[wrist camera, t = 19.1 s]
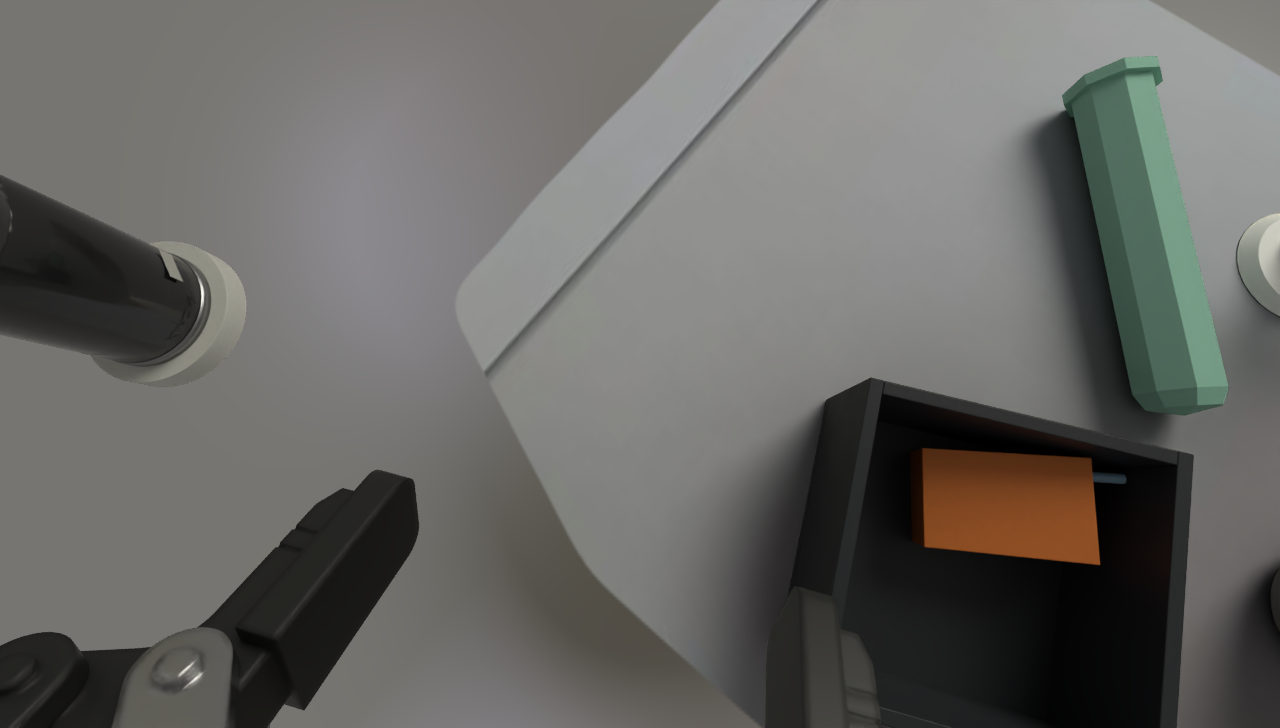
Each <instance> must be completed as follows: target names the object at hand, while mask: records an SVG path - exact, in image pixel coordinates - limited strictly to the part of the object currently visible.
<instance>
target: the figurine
mask: <svg viewBox="0 0 1280 728" xmlns="http://www.w3.org/2000/svg"><path fill="white" fill-rule="evenodd" d="M1237 262H1238V267H1239V272H1240V275H1241V277H1242V279H1243V282H1244V284H1245V285H1246V287H1247V288H1248V290H1249V291H1250V293H1251V294H1252V295H1253V296H1254V297H1255V299H1256V300H1257V301H1258V302H1259V303H1260V304H1262V305H1263V306H1264V307H1265V308H1267V309H1268V310H1269V311H1271V312H1273V313H1274V314H1276V315H1278V316H1280V213H1278V214H1272V215H1269V216H1266V217H1264V218H1261V219H1259V220H1258V221H1256V222H1255V223H1253V224H1252V225H1251V226H1250V227H1249V228H1248V229H1247V230H1246V231H1245V233H1244V234H1243V236H1242V238H1241V240H1240V243H1239V247H1238V250H1237Z"/></svg>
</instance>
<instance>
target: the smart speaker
mask: <svg viewBox="0 0 1280 728" xmlns="http://www.w3.org/2000/svg"><path fill="white" fill-rule="evenodd" d="M1271 609H1272V613H1273V617H1274V620H1275V623H1276V625H1277V628H1278V630H1279V632H1280V568H1279V569H1278V571H1277V573H1276V575H1275V577H1274V580H1273V583H1272V587H1271Z"/></svg>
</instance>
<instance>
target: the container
mask: <svg viewBox="0 0 1280 728" xmlns="http://www.w3.org/2000/svg"><path fill="white" fill-rule="evenodd" d="M1162 81H1163V79H1162V75H1161V70H1160V65H1159V61H1158V57H1157V56H1147V57H1130V58H1123V59H1120V60H1118V61H1116V62H1113V63H1111V64H1109V65H1106V66H1104V67H1102V68H1099V69H1097V70H1095V71H1092V72H1090V73H1088V74H1085V75H1084V76H1083V77H1081V78H1080V79H1079V80H1078V81H1077V82H1076V83H1075V84H1074V85H1073V86H1072V87H1071V88H1070V89H1069V90H1067V91H1066V92H1065V93H1064V94H1063V95H1062V97H1063V102H1064V106H1065V108H1066V110H1067V112H1068V114H1069V116H1070V117H1074V118H1075V123H1076V128H1077V133H1078V138H1079V142H1080V147H1081V152H1082V157H1083V161H1084V166H1085V171H1086V176H1087V181H1088V185H1089V190H1090V195H1091V200H1092V204H1093V209H1094V214H1095V219H1096V224H1097V228H1098V233H1099V238H1100V243H1101V247H1102V252H1103V257H1104V262H1105V267H1106V271H1107V276H1108V281H1109V286H1110V291H1111V295H1112V300H1113V305H1114V310H1115V314H1116V319H1117V324H1118V329H1119V334H1120V338H1121V343H1122V348H1123V353H1124V357H1125V362H1126V367H1127V372H1128V377H1129V381H1130V386H1131V391H1132V395H1133V396H1134V398H1135V399H1136V400H1137V401H1138V403H1139V404H1140V405H1141V406H1142V407H1143V409H1144V410H1146V411H1151V412H1159V413H1168V414H1176V415H1188V414H1192V413H1196V412H1200V411H1203V410H1207V409H1211V408H1214V407H1218V406H1222V405H1223V403H1224V401H1225V398H1226V395H1227V392H1228V389H1229V386H1228V382H1227V378H1226V374H1225V370H1224V366H1223V361H1222V357H1221V353H1220V349H1219V345H1218V341H1217V337H1216V333H1215V329H1214V324H1213V320H1212V316H1211V312H1210V308H1209V304H1208V300H1207V296H1206V291H1205V287H1204V283H1203V279H1202V275H1201V271H1200V267H1199V263H1198V259H1197V254H1196V250H1195V246H1194V242H1193V238H1192V234H1191V230H1190V226H1189V221H1188V217H1187V213H1186V209H1185V205H1184V201H1183V197H1182V193H1181V189H1180V184H1179V180H1178V176H1177V172H1176V168H1175V164H1174V160H1173V156H1172V151H1171V147H1170V143H1169V139H1168V135H1167V131H1166V127H1165V123H1164V119H1163V114H1162V110H1161V106H1160V102H1159V98H1158V94H1157V90H1156V86H1157V85H1158V84H1159V83H1161V82H1162Z"/></svg>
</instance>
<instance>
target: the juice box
mask: <svg viewBox="0 0 1280 728" xmlns="http://www.w3.org/2000/svg"><path fill="white" fill-rule="evenodd" d="M910 465H911V523H912V542H914V543H917V544H919V545H921V546H923V547H927V548H937V549H947V550H956V551H966V552H976V553H985V554H995V555H1005V556H1014V557H1024V558H1034V559H1044V560H1053V561H1063V562H1073V563H1082V564H1092V565H1100V557H1099V545H1098V533H1097V521H1096V509H1095V496H1094V484H1093V482H1100V483H1115V484H1125V483H1126V476H1125V475H1124V474H1116V473H1100V472H1092V460H1091V458H1088V457H1071V456H1054V455H1036V454H1019V453H1002V452H985V451H967V450H950V449H933V448H921V449H919V450H916V451H913V452H911V453H910Z"/></svg>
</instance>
